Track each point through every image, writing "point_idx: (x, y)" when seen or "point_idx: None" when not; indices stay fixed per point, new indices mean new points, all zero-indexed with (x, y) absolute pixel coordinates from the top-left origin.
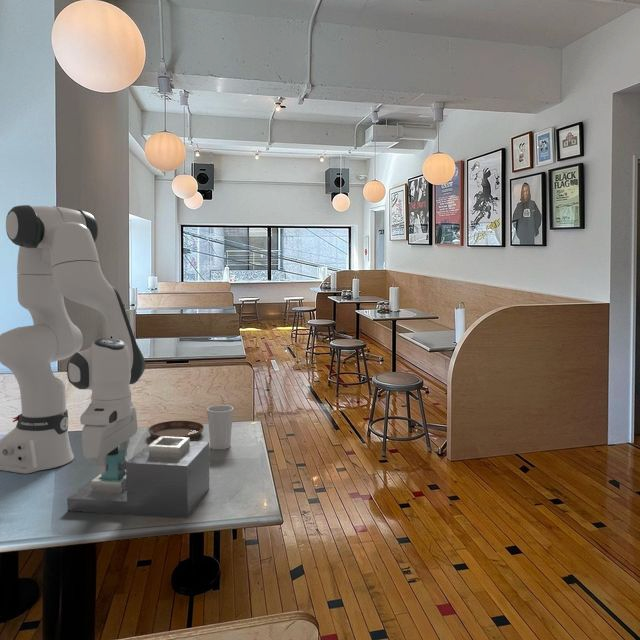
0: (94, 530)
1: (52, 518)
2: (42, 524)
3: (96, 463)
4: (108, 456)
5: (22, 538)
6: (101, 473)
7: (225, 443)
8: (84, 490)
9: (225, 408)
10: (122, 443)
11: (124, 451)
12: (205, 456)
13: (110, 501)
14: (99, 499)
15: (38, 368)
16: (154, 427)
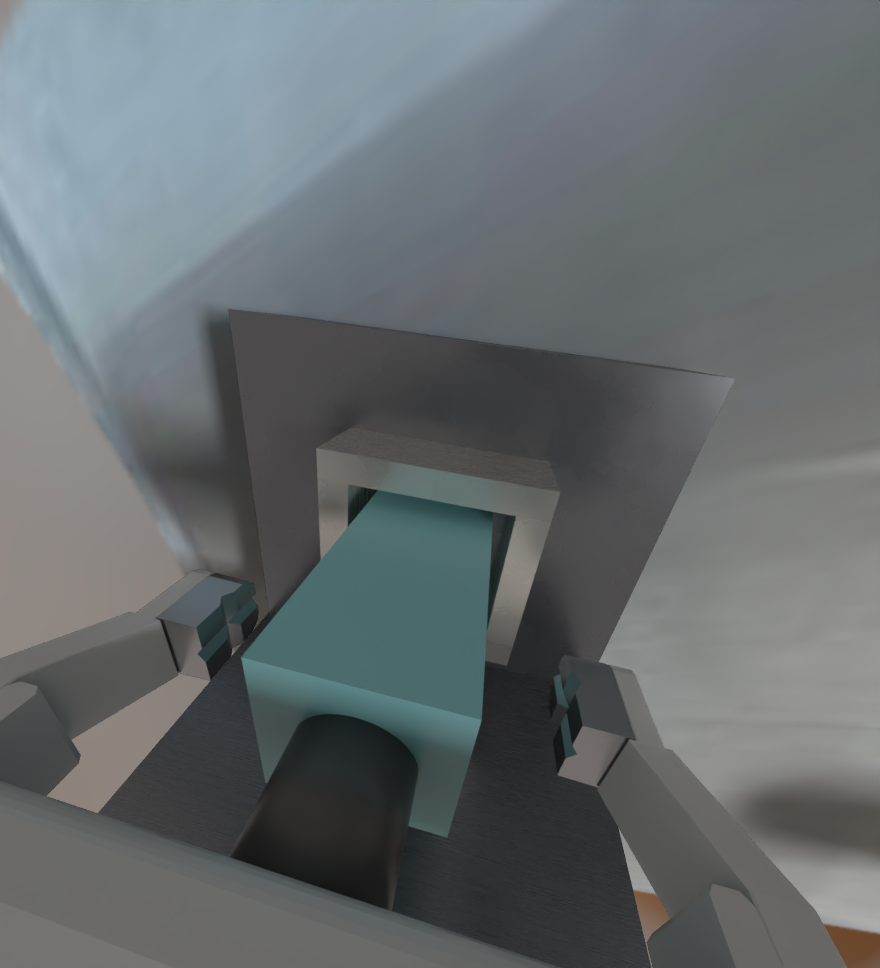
0: (175, 498)
1: (198, 267)
2: (136, 245)
3: (83, 629)
4: (255, 720)
5: (11, 219)
6: (349, 525)
7: None
8: (353, 376)
9: None
10: (700, 883)
11: (433, 828)
12: None
13: (263, 550)
14: (262, 502)
15: None
16: None
